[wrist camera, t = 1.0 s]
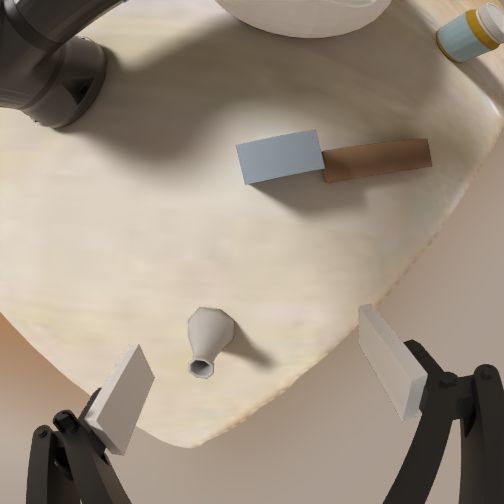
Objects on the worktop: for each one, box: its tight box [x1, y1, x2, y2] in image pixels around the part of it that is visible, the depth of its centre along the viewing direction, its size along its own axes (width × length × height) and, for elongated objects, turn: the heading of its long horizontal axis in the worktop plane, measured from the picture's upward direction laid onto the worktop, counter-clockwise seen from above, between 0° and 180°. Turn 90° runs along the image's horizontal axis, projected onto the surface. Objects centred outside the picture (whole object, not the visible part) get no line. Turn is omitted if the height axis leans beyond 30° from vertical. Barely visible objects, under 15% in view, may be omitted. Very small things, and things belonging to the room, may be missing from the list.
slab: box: [236, 130, 325, 185], centre depth 30 cm, size 4×8×9 cm, turn 103°
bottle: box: [436, 3, 504, 63], centre depth 21 cm, size 7×7×15 cm
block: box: [321, 139, 432, 183], centre depth 33 cm, size 4×16×2 cm, turn 103°
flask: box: [188, 307, 235, 379], centre depth 36 cm, size 7×7×10 cm
